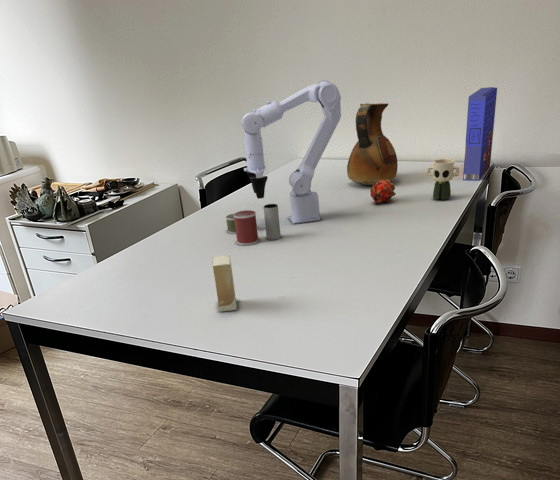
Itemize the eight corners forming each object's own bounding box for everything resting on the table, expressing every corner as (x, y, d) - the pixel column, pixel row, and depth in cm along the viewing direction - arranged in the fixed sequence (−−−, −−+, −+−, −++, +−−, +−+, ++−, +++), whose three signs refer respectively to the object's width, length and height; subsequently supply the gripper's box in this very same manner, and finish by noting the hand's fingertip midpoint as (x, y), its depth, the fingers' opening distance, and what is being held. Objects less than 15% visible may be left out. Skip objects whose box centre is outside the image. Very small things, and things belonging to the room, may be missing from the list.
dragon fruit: (391, 201, 219) (378, 215, 212) (373, 187, 219) (360, 201, 212) (403, 184, 212) (391, 198, 205) (384, 169, 213) (371, 183, 205)
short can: (245, 226, 204) (244, 211, 201) (248, 231, 198) (246, 217, 196) (226, 229, 203) (224, 214, 201) (228, 234, 198) (226, 219, 195)
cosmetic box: (219, 302, 151) (212, 256, 144) (236, 300, 151) (230, 254, 144) (219, 312, 145) (212, 265, 139) (237, 310, 145) (230, 263, 139)
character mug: (424, 201, 210) (425, 163, 204) (428, 195, 216) (429, 158, 209) (455, 201, 206) (457, 163, 199) (459, 196, 212) (461, 158, 205)
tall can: (257, 236, 193) (254, 209, 189) (260, 243, 187) (257, 215, 183) (236, 239, 192) (232, 212, 188) (238, 246, 186) (234, 218, 182)
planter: (279, 239, 188) (276, 207, 183) (265, 240, 189) (261, 208, 184) (281, 235, 192) (279, 203, 187) (268, 235, 193) (265, 203, 188)
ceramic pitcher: (405, 178, 240) (406, 97, 225) (384, 191, 226) (385, 106, 211) (361, 176, 250) (359, 98, 235) (339, 188, 236) (336, 107, 220)
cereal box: (475, 166, 246) (481, 87, 231) (490, 167, 243) (497, 86, 228) (463, 180, 230) (468, 95, 215) (478, 180, 227) (485, 95, 212)
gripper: (239, 150, 198) (244, 191, 205) (245, 158, 185) (249, 202, 192) (260, 148, 199) (264, 189, 206) (267, 156, 186) (271, 199, 193)
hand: (259, 195), depth 199 cm, fingers open, 7 cm apart
